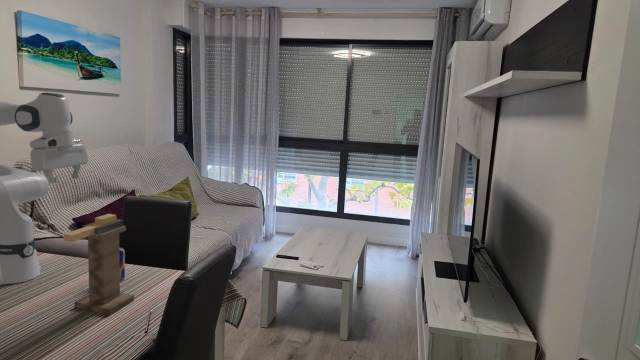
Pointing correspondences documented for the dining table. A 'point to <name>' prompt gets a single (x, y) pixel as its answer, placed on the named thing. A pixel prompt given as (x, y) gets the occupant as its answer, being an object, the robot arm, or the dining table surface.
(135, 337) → the dining table surface
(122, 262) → the energy drink
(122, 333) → the dining table surface
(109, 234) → the holder stand
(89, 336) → the dining table surface
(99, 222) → the wooden stick
